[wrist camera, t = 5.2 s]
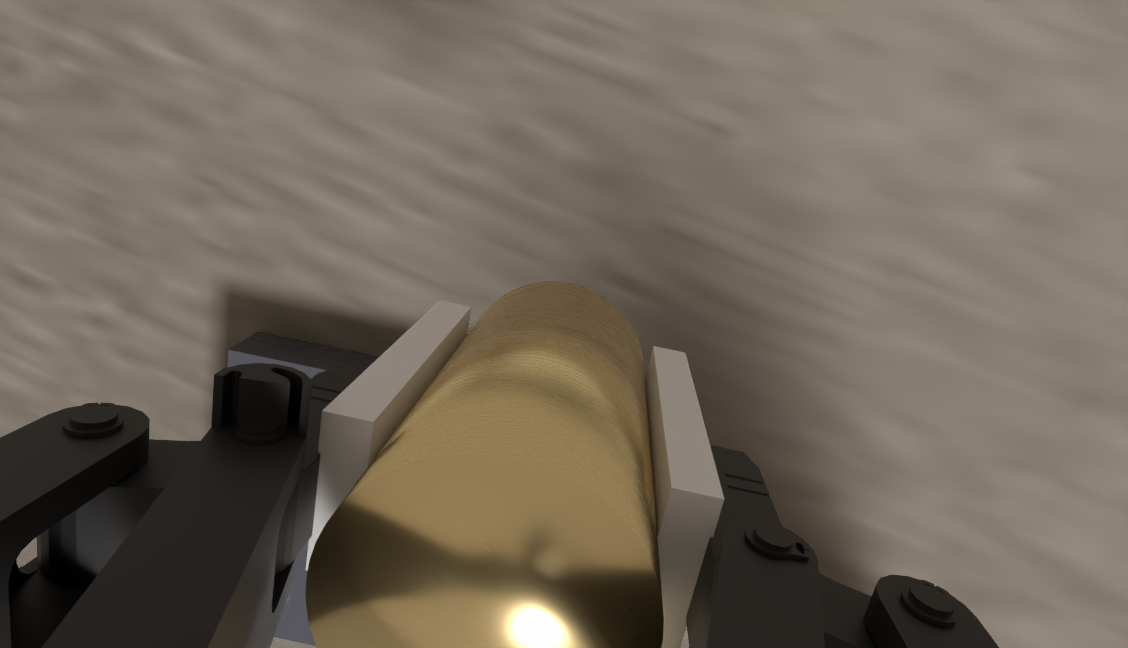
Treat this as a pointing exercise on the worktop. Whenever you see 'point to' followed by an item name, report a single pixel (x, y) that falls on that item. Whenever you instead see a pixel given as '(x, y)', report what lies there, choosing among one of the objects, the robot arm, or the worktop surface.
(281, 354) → the jig
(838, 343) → the worktop surface
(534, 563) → the brass cylinder
